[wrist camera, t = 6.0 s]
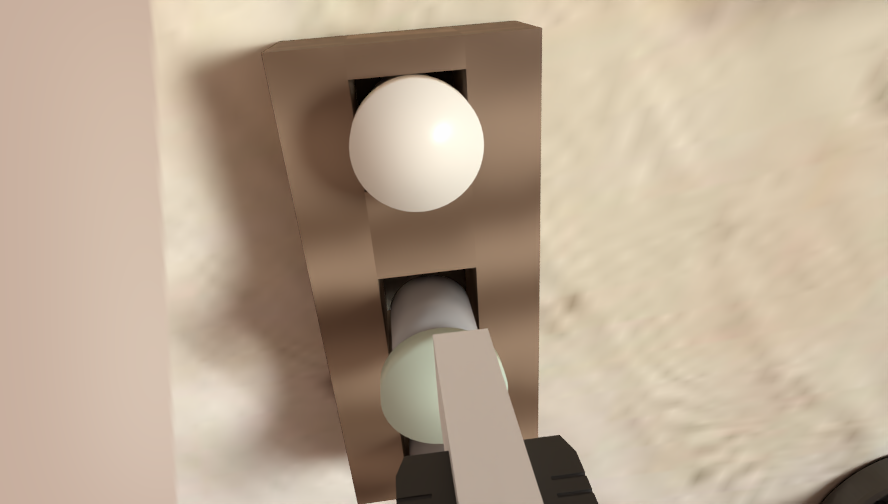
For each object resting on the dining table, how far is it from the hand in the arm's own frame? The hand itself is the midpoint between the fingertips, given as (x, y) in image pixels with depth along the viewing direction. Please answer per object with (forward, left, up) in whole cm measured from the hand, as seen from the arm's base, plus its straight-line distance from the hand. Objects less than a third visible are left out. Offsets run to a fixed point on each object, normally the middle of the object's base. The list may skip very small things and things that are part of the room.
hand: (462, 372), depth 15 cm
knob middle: (-7, 0, -13) cm, 15 cm away
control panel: (-7, 0, -18) cm, 19 cm away
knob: (+3, 0, -17) cm, 17 cm away
